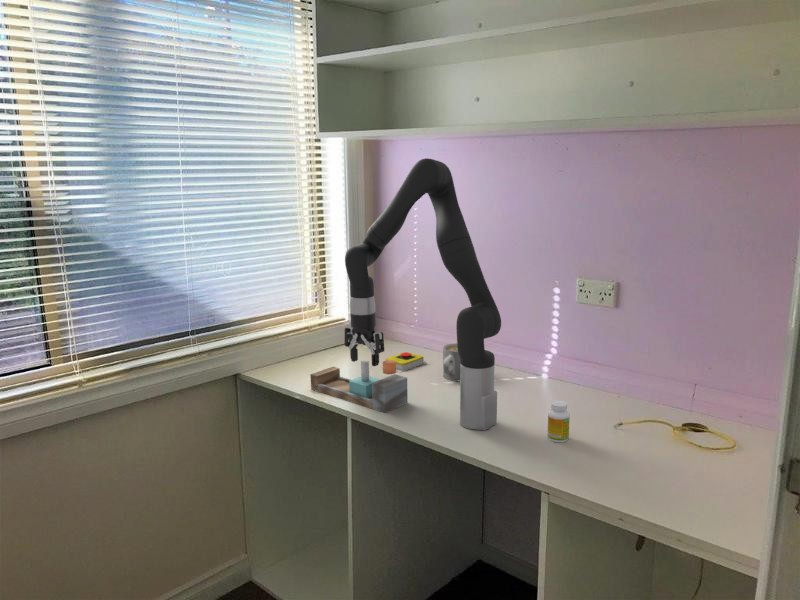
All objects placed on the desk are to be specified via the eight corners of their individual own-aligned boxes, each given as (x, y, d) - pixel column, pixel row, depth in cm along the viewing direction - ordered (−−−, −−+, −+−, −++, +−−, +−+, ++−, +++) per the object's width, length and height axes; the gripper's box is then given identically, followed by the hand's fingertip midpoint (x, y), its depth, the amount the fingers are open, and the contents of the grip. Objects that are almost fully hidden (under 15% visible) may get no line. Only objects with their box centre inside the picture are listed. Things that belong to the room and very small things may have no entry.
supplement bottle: (565, 444, 168) (566, 408, 166) (544, 440, 170) (545, 405, 168) (571, 436, 172) (572, 401, 170) (550, 432, 175) (552, 398, 173)
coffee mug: (456, 369, 228) (456, 341, 226) (478, 375, 221) (479, 347, 219) (430, 378, 219) (429, 349, 217) (452, 385, 212) (452, 355, 210)
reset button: (399, 371, 194) (399, 362, 193) (390, 375, 191) (390, 365, 190) (389, 369, 196) (388, 359, 196) (380, 372, 193) (379, 362, 193)
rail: (407, 402, 198) (407, 377, 196) (385, 412, 190) (384, 386, 189) (333, 380, 218) (332, 357, 217) (311, 389, 211) (309, 365, 209)
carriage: (381, 392, 202) (381, 360, 200) (366, 398, 197) (365, 366, 195) (365, 387, 207) (364, 356, 204) (349, 393, 201) (348, 362, 199)
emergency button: (427, 352, 236) (399, 362, 225) (427, 364, 236) (399, 374, 226) (408, 347, 242) (379, 356, 231) (408, 359, 243) (379, 368, 232)
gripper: (389, 311, 194) (390, 364, 198) (354, 306, 203) (356, 356, 207) (371, 316, 189) (373, 370, 192) (337, 310, 198) (339, 362, 201)
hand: (364, 363), depth 199 cm, fingers open, 8 cm apart
